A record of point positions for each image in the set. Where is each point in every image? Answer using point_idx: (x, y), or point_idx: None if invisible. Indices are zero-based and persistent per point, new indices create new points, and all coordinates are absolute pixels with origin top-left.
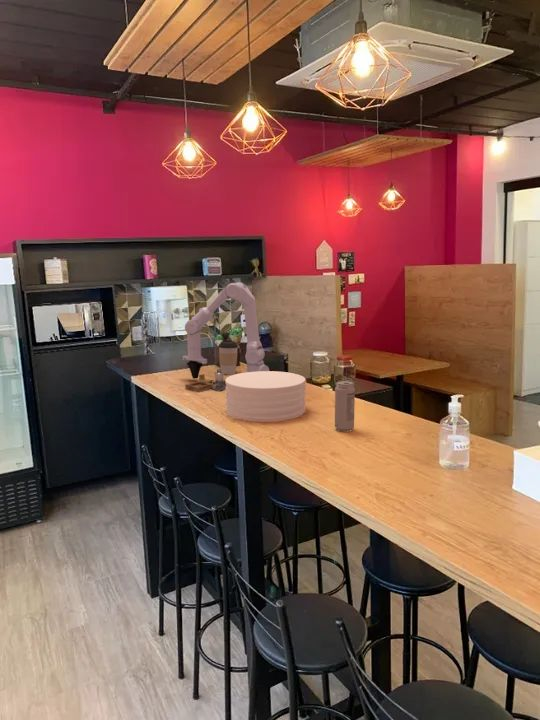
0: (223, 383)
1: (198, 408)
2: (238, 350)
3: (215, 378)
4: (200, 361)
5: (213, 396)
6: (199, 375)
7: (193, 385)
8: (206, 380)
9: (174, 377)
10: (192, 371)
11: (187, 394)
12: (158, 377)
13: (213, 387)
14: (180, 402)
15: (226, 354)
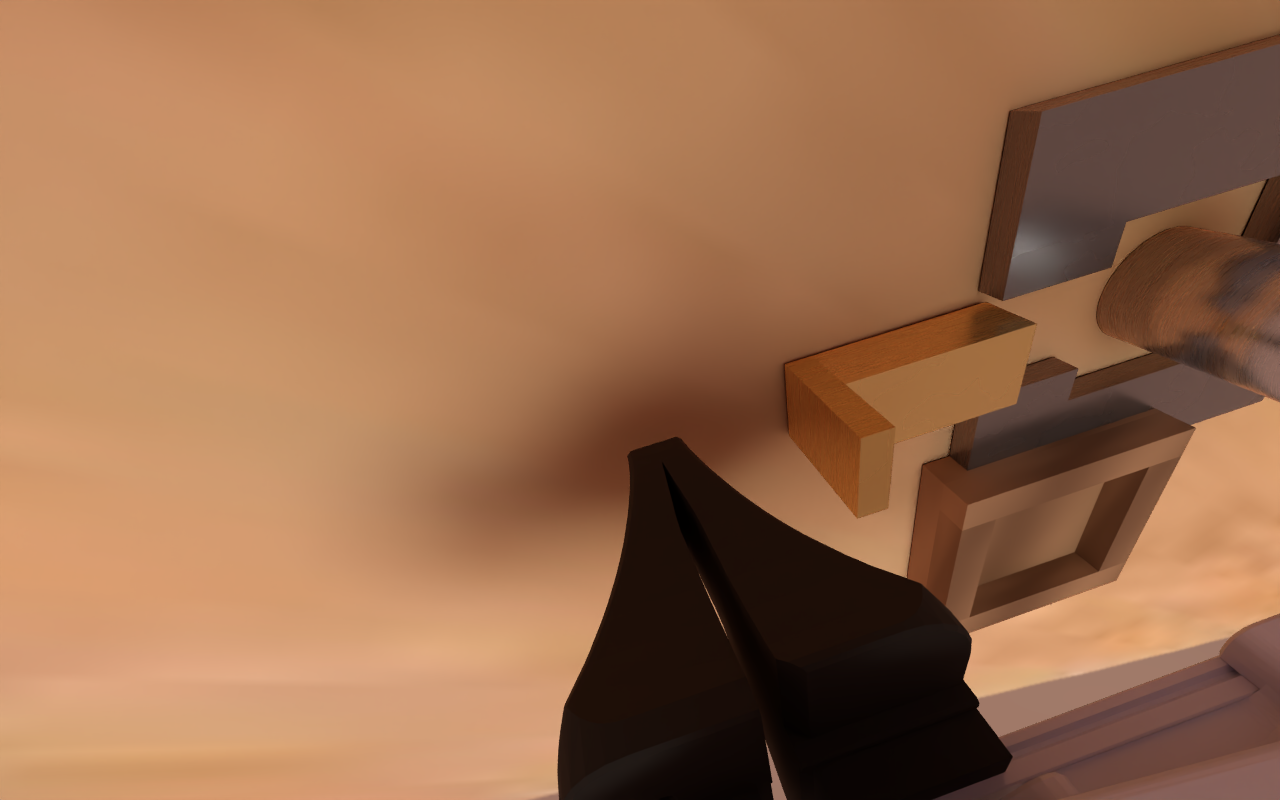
0: (1202, 197)
1: (1274, 606)
2: None
3: (1264, 393)
4: (1125, 775)
5: (1261, 478)
6: (868, 507)
7: (1033, 595)
8: (968, 407)
9: (199, 620)
10: (719, 616)
11: (1036, 610)
12: (131, 759)
13: (1175, 411)
14: (1116, 658)
15: None
